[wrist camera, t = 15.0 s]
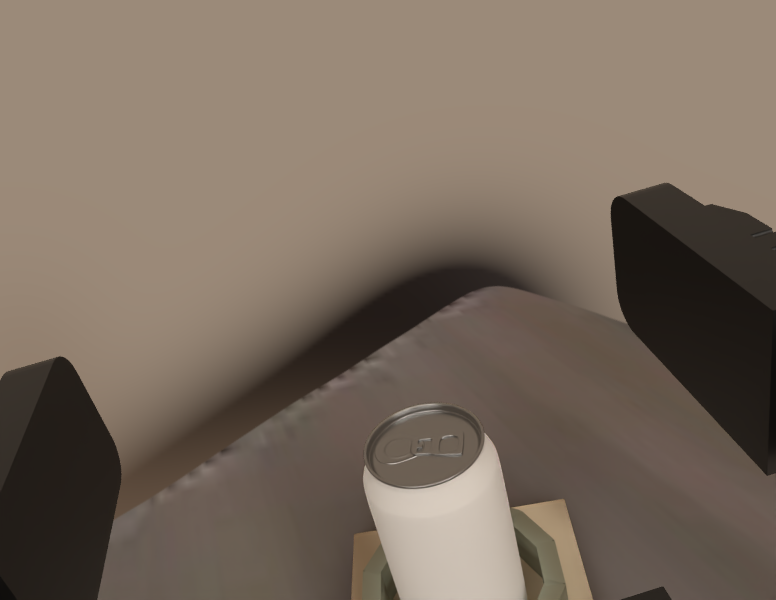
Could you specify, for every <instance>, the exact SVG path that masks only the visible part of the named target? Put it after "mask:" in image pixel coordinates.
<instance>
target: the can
mask: <svg viewBox="0 0 776 600" xmlns="http://www.w3.org/2000/svg"><path fill="white" fill-rule="evenodd" d="M363 457H364V462H365V468H364V474H363V484H364V490H365V494H366V497H367V501H368V504H369V507H370V510H371V513H372V516H373V520H374V523H375V526H376V529H377V532H378V535H379V538H380V541H381V544H382V547H383V550H384V553H385V556H386V559H387V562H388V565H389V568H390V571H391V574H392V577H393V580H394V583H395V586H396V589H397V592H398V594H399V597H400V600H527V593H526V587H525V582H524V576H523V571H522V566H521V561H520V556H519V551H518V546H517V541H516V536H515V532H514V527H513V522H512V517H511V512H510V507H509V502H508V498H507V493H506V488H505V483H504V479H503V474H502V469H501V465H500V461H499V457H498V454H497V451H496V448H495V446H494V444H493V443H492V441H491V440H490V438H489V437H488V436H487V435H486V434H485V433H484V429H483V426H482V424H481V422H480V420H479V419H478V418H477V417H476V416H475V415H474V414H473V413H472V412H470V411H469V410H467V409H465V408H463V407H460V406H458V405H454V404H449V403H440V402H433V403H423V404H417V405H413V406H410V407H407V408H404V409H402V410H399V411H397V412H395V413H393V414H392V415H390V416H388V417H387V418H385V419H384V420H383V421H381V422H380V423H379V424H378V425H377V426H376V427H375V428H374V429H373V431H372V432H371V433H370V435H369V436H368V438H367V440H366V443H365V446H364V451H363Z"/></svg>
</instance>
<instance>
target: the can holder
mask: <svg viewBox="0 0 776 600" xmlns="http://www.w3.org/2000/svg"><path fill="white" fill-rule="evenodd" d="M510 512H511V517H512V522H513V527H514V532H515V536H516V541H517V546H518V551H519V556H520V561H521V566H522V571H523V576H524V582H525V587H526V593H527V600H593V598H592V594H591V591H590V588H589V584H588V581H587V577H586V574H585V570H584V567H583V563H582V560H581V556H580V553H579V549H578V546H577V542H576V539H575V535H574V532H573V528H572V525H571V521H570V518H569V514H568V511H567V507H566V504H565V500H564V499H560V500H554V501H548V502H542V503H536V504H530V505H524V506H518V507H512V508H510ZM351 600H400V597H399V594H398V592H397V589H396V586H395V583H394V580H393V577H392V574H391V571H390V568H389V565H388V562H387V559H386V556H385V553H384V550H383V547H382V544H381V541H380V538H379V535H378V532H377V530H375V531H369V532H363V533H357V534H354V549H353V572H352V594H351Z"/></svg>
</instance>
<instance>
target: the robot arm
mask: <svg viewBox="0 0 776 600" xmlns="http://www.w3.org/2000/svg"><path fill="white" fill-rule="evenodd" d="M611 223H612V224H611V225H612V237H613V247H614V260H615V271H616V284H617V293H618V299H619V303H620V307H621V310H622V312H623V315H624V317H625V319H626V321H627V323H628V325H629V327H630V328H631V330H632V331H633V332H634V333H635V334H636V335H637V336H638V338H639V339H640V340H641V341H642V342H643V343H644V344H645V345H646V346H647V347H648V348H649V349H650V350H651V351H652V353H653V354H654V355H655V356H656V357H657V358H658V359H659V360H660V361H661V362H662V363H663V364H664V365H665V367H666V368H667V369H668V370H669V371H670V372H671V373H672V374H673V375H674V376H675V377H676V378H677V379H678V381H679V382H680V383H681V384H682V385H683V386H684V387H685V388H686V389H687V390H688V391H689V392H690V393H691V394H692V396H693V397H694V398H695V399H696V400H697V401H698V402H699V403H700V404H701V405H702V406H703V407H704V408H705V410H706V411H707V412H708V413H709V414H710V415H711V416H712V417H713V418H714V419H715V420H716V421H717V422H718V423H719V425H720V426H721V427H722V428H723V429H724V430H725V431H726V432H727V433H728V434H729V435H730V436H731V437H732V439H733V440H734V441H735V442H736V443H737V444H738V445H739V446H740V447H741V448H742V449H743V450H744V451H745V452H746V454H747V455H748V456H749V457H750V458H751V459H752V460H753V461H754V462H755V463H756V464H757V465H758V466H759V468H760V469H761V470H762V471H763V472H764V473H765V474H766V475H767V476H768V475H771V474H774V473H776V232H774V233H773V231H772V228H770V227H769V226H767V225H765V224H764V223H762V222H760V221H759V220H757V219H755V218H754V217H752V216H750V215H749V214H747V213H744V212H740V211H736V210H732V209H728V208H724V207H720V206H717V205H713V204H710V205H706V206H704V205H703V204H701V203H699V202H698V201H696V200H695V199H693V198H692V197H690V196H689V195H687V194H686V193H684V192H682V191H681V190H679V189H678V188H676V187H675V186H673V185H671V184H669V183H663V184H659V185H656V186H652V187H649V188H646V189H642V190H638V191H635V192H631V193H628V194H625V195H621V196H618V197H616V198H614V200H613V202H612V205H611ZM120 485H121V465H120V460H119V456H118V452H117V449H116V446H115V443H114V441H113V439H112V437H111V435H110V433H109V431H108V429H107V427H106V426H105V424H104V422H103V420H102V418H101V417H100V414H99V413H98V411H97V409H96V407H95V405H94V403H93V401H92V400H91V398H90V396H89V394H88V392H87V390H86V388H85V387H84V385H83V383H82V381H81V379H80V377H79V375H78V374H77V372H76V370H75V368H74V367H73V365H72V364H71V363H70V362H69V361H68V360H67V359H66V358H64V357H56V358H53V359H49V360H46V361H42V362H39V363H35V364H32V365H28V366H25V367H21V368H18V369H15V370H11V371H8V372H6V373H5V374H4V375H3V376H2V378H1V380H0V600H97V598H98V593H99V588H100V583H101V578H102V573H103V568H104V563H105V558H106V553H107V549H108V544H109V539H110V534H111V529H112V524H113V519H114V514H115V509H116V504H117V499H118V494H119V490H120ZM621 600H671V598H670V596H669V595H668V593H667V592H666V590H665V588H664V587H659V588H656V589H653V590H650V591H647V592H644V593H640V594H637V595H634V596H631V597H628V598H625V599H621Z"/></svg>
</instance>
